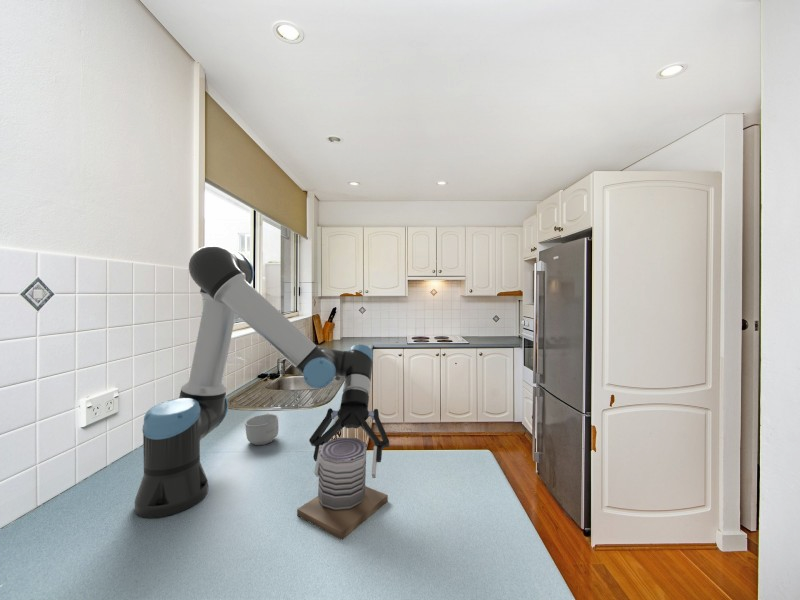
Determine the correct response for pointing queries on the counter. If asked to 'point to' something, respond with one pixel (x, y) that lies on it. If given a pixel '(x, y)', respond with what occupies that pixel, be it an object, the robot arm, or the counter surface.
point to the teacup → (262, 429)
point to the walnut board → (342, 513)
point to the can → (342, 473)
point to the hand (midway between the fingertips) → (345, 475)
